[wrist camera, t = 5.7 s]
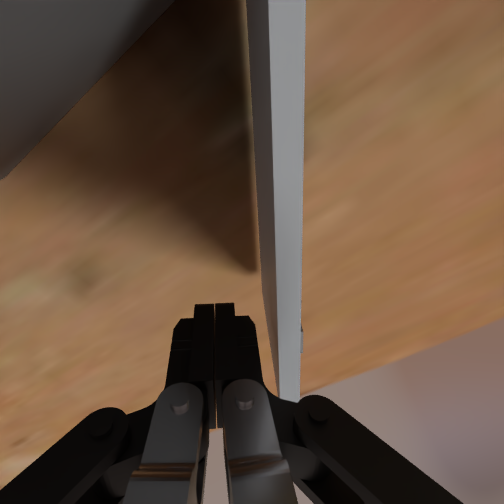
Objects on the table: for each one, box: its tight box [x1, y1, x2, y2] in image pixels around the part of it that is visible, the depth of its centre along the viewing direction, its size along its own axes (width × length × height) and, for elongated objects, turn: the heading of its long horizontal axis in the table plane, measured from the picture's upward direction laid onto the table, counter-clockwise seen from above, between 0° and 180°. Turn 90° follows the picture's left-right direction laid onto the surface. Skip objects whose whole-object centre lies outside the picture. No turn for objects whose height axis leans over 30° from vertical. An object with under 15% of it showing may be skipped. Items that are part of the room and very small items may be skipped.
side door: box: [246, 0, 306, 403], centre depth 12 cm, size 1×14×7 cm, turn 4°
